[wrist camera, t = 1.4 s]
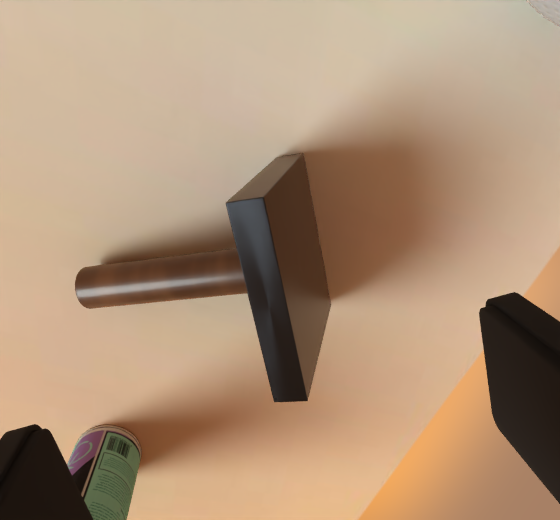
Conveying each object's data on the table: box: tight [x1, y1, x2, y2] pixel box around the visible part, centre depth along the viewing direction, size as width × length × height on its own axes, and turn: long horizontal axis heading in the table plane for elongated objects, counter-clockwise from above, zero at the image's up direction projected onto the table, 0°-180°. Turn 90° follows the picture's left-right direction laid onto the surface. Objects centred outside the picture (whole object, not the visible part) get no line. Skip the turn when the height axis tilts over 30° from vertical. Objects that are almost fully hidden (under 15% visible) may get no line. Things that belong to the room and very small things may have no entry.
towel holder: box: [75, 153, 331, 402], centre depth 32 cm, size 18×12×12 cm
